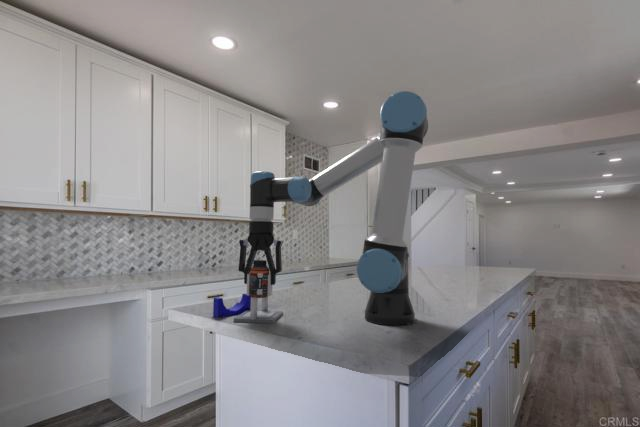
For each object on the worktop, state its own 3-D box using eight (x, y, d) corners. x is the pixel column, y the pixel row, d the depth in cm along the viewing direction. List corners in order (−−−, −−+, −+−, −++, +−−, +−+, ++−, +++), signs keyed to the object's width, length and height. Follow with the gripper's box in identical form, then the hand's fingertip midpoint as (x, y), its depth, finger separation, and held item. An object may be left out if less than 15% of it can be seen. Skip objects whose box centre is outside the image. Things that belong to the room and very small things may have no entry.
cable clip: (243, 310, 118) (243, 292, 118) (250, 312, 115) (251, 294, 115) (210, 316, 109) (211, 296, 110) (217, 318, 106) (218, 298, 107)
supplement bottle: (264, 299, 103) (265, 261, 104) (246, 298, 104) (247, 260, 105) (271, 295, 109) (272, 259, 110) (253, 294, 110) (254, 259, 111)
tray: (283, 314, 112) (283, 292, 113) (272, 323, 99) (273, 299, 100) (248, 312, 114) (248, 291, 114) (232, 322, 101) (233, 298, 101)
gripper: (293, 221, 111) (291, 294, 109) (237, 221, 114) (235, 291, 112) (288, 220, 104) (286, 298, 102) (228, 220, 106) (225, 295, 105)
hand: (259, 294), depth 107 cm, fingers closed on supplement bottle, 6 cm apart
